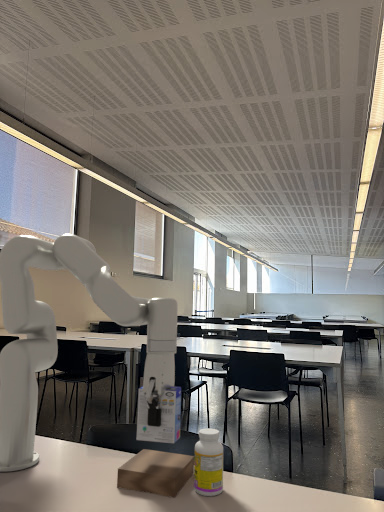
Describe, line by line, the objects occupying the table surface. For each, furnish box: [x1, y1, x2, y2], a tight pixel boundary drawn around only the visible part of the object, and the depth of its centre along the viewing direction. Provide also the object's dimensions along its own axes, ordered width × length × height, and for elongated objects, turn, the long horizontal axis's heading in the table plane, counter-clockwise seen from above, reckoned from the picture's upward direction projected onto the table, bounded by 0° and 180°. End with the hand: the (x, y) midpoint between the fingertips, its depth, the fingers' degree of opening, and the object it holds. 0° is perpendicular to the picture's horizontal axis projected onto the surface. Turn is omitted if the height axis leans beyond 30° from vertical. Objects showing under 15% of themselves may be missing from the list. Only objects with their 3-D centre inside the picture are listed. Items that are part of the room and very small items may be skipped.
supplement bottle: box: [193, 428, 224, 497], centre depth 89 cm, size 7×7×13 cm
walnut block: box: [116, 448, 195, 498], centre depth 93 cm, size 14×14×4 cm
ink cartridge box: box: [135, 385, 182, 444], centre depth 95 cm, size 10×6×14 cm, turn 78°
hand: (159, 421), depth 95 cm, fingers closed on ink cartridge box, 5 cm apart
